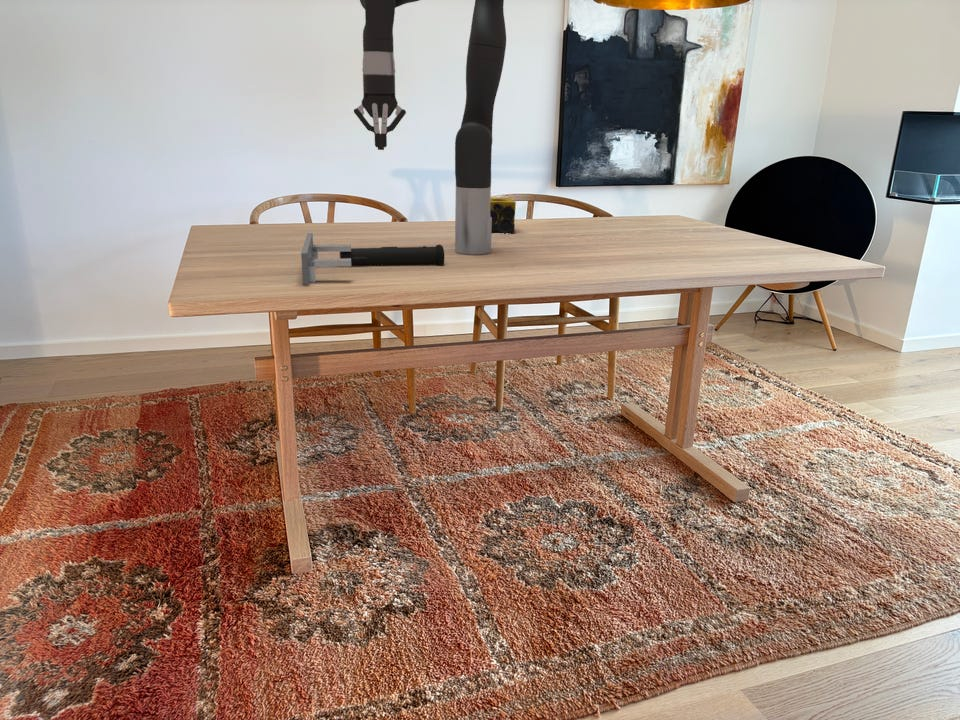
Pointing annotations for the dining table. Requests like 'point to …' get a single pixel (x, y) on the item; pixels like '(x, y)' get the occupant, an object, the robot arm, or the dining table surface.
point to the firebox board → (306, 258)
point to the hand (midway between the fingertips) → (380, 149)
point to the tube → (395, 256)
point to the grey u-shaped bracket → (327, 262)
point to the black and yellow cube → (502, 215)
